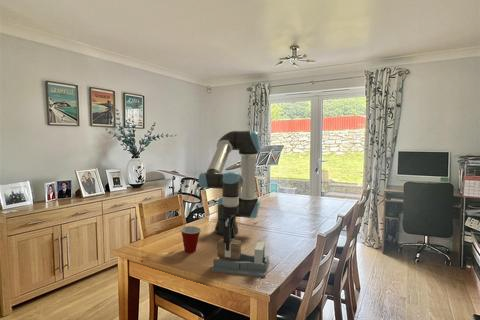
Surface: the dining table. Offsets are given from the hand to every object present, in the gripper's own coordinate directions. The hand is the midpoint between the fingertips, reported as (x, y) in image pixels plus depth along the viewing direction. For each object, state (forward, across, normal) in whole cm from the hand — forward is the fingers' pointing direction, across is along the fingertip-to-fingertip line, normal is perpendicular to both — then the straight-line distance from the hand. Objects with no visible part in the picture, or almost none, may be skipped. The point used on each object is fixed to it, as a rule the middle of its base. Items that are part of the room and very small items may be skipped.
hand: (229, 254), depth 135 cm
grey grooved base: (+5, 0, +6) cm, 8 cm away
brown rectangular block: (+1, 0, 0) cm, 1 cm away
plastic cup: (+5, -12, -24) cm, 27 cm away
